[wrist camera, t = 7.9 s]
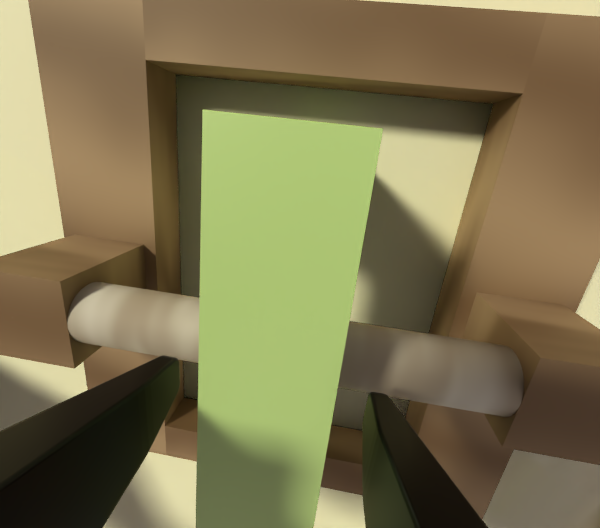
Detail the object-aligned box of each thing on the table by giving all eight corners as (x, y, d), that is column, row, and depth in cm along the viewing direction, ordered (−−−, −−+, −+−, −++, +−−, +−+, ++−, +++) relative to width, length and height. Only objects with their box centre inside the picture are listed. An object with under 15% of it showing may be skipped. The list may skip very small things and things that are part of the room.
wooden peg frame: (466, 479, 17) (527, 639, 11) (120, 412, 19) (24, 522, 13) (639, 47, 10) (996, -83, 5) (74, 5, 12) (-162, -127, 6)
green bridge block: (315, 412, 15) (300, 599, 9) (255, 401, 16) (195, 577, 9) (355, 151, 12) (382, 128, 5) (276, 142, 12) (202, 109, 5)
